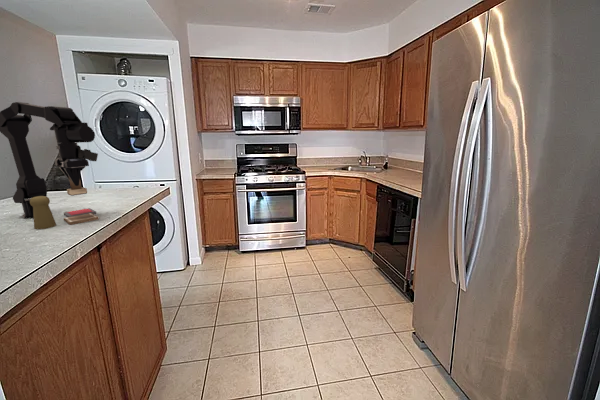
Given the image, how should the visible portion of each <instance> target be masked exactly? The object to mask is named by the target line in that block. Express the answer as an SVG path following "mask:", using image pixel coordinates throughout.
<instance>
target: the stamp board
mask: <svg viewBox="0 0 600 400" xmlns="http://www.w3.org/2000/svg"><path fill="white" fill-rule="evenodd" d="M99 219H100V217H99V216H98V215H97V214H92V213H89V214H84V215H78V216H73V217H63V221H64V223H66V224H68V225H69V226H72V225H77V224H83V223H87V222H93V221H97V220H99Z"/></svg>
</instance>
